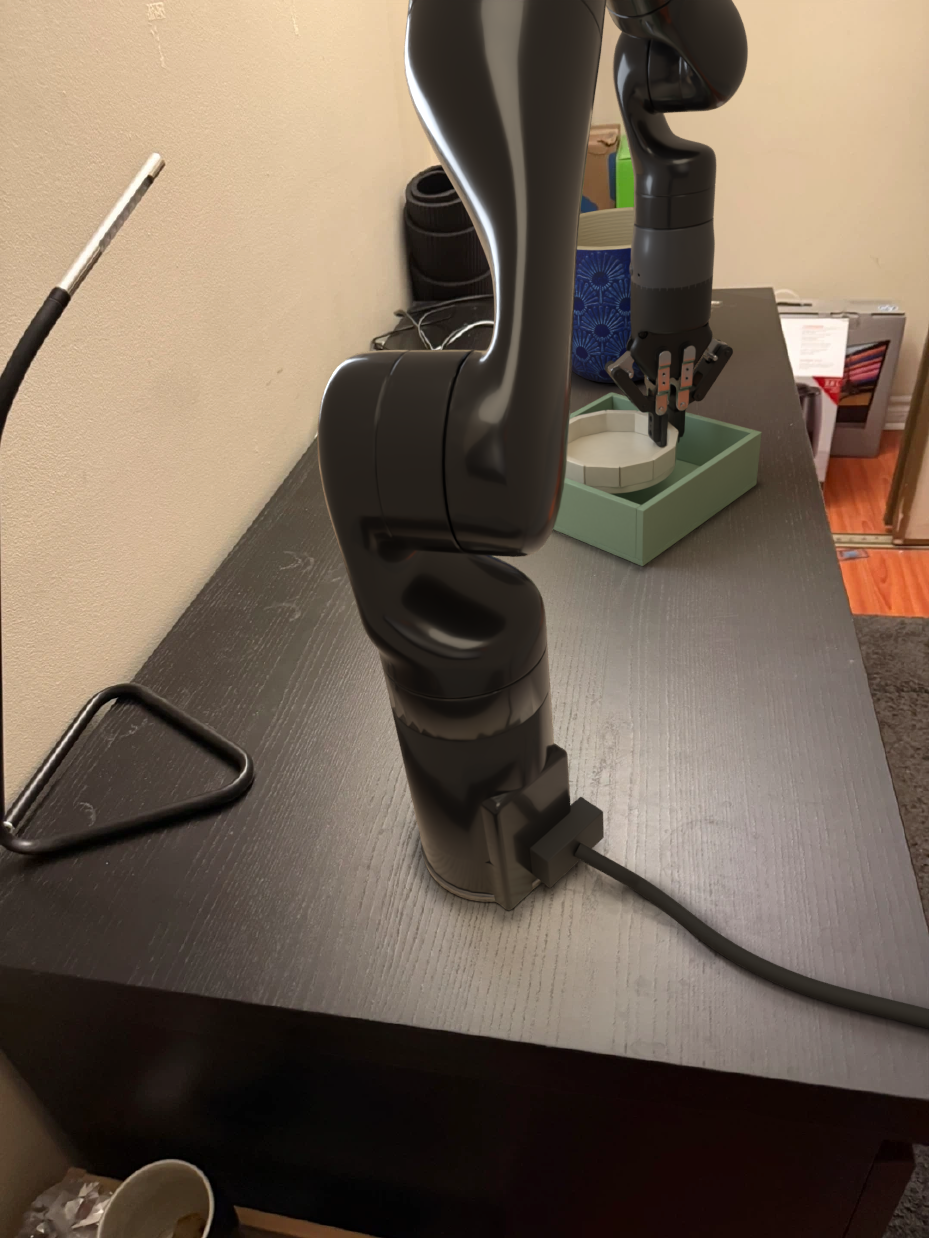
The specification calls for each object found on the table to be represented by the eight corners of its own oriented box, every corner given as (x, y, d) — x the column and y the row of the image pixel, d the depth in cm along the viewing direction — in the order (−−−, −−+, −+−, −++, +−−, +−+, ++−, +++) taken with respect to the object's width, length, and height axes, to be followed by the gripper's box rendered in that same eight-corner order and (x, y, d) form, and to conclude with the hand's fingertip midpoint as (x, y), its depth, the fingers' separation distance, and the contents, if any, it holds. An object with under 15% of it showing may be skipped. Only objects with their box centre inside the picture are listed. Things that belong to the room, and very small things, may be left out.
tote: (756, 484, 90) (762, 431, 86) (642, 566, 80) (643, 511, 76) (611, 440, 102) (611, 392, 99) (497, 506, 92) (492, 455, 89)
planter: (553, 347, 130) (547, 213, 118) (692, 340, 125) (699, 200, 114) (540, 402, 114) (531, 253, 102) (698, 396, 109) (707, 240, 98)
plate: (701, 455, 88) (703, 428, 86) (622, 507, 81) (622, 480, 79) (603, 425, 96) (603, 400, 94) (525, 470, 89) (523, 444, 88)
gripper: (618, 295, 75) (619, 470, 85) (758, 268, 76) (742, 443, 87) (589, 275, 81) (593, 441, 91) (719, 250, 82) (709, 416, 93)
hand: (666, 442), depth 89 cm, fingers closed on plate, 1 cm apart
